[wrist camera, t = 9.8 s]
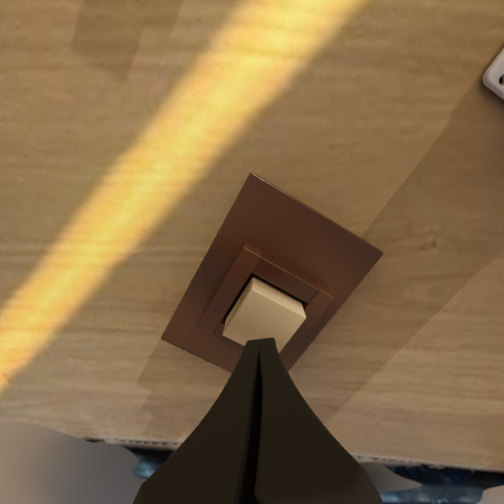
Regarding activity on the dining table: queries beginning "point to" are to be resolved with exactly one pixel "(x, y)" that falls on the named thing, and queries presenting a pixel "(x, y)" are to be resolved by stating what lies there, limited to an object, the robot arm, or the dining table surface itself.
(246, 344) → the robot arm
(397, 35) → the dining table surface
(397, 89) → the dining table surface
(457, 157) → the dining table surface
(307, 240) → the tiered wooden pedestal
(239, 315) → the key
